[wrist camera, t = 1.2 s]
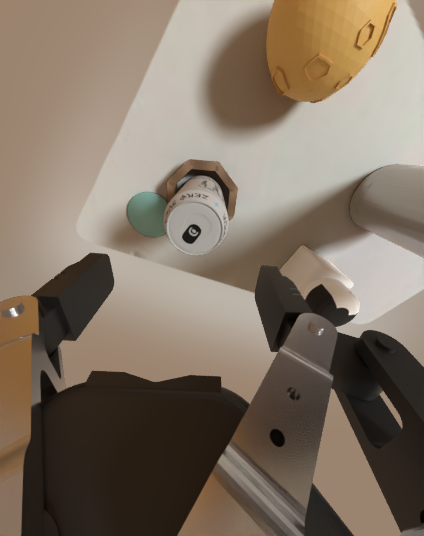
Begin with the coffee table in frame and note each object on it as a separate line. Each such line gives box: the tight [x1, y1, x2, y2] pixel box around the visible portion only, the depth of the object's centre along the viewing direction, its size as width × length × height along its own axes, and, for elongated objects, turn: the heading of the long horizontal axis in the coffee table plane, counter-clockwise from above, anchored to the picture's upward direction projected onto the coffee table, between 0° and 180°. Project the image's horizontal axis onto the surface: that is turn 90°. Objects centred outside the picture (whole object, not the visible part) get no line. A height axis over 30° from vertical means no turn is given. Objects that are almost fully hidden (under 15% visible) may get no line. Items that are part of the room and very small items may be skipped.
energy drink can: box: [163, 175, 229, 256], centre depth 23 cm, size 6×6×15 cm
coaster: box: [127, 192, 167, 237], centre depth 31 cm, size 7×7×1 cm
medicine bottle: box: [279, 245, 360, 327], centre depth 31 cm, size 7×7×12 cm
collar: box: [167, 159, 238, 221], centre depth 28 cm, size 10×10×2 cm
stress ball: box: [266, 0, 397, 103], centre depth 17 cm, size 10×10×10 cm
